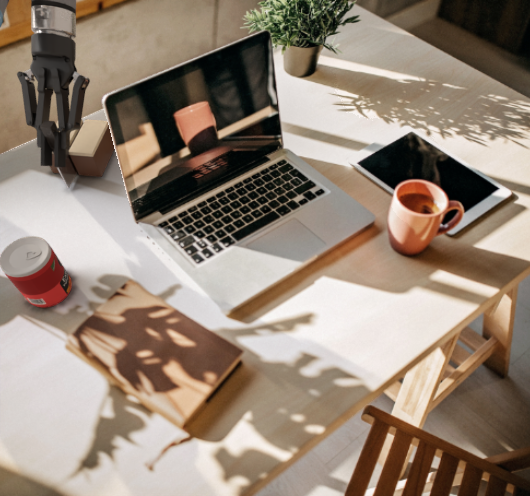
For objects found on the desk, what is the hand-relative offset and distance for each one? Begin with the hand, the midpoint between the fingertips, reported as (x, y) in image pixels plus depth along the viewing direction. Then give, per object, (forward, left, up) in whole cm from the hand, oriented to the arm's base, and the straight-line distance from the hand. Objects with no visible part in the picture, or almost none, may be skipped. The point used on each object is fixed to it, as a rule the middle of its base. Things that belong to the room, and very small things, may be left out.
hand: (53, 166), depth 94 cm
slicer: (-2, +3, -7) cm, 8 cm away
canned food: (+16, -17, -8) cm, 24 cm away
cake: (-5, +9, -8) cm, 13 cm away
